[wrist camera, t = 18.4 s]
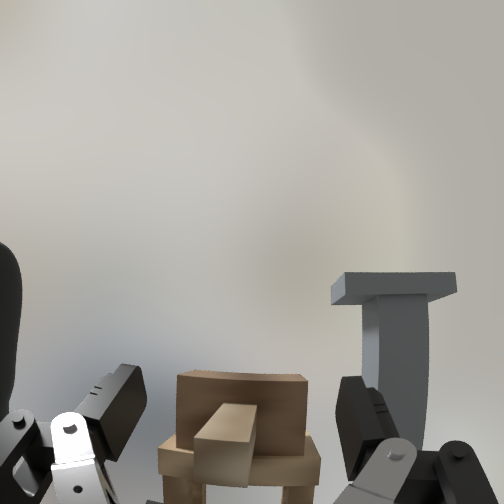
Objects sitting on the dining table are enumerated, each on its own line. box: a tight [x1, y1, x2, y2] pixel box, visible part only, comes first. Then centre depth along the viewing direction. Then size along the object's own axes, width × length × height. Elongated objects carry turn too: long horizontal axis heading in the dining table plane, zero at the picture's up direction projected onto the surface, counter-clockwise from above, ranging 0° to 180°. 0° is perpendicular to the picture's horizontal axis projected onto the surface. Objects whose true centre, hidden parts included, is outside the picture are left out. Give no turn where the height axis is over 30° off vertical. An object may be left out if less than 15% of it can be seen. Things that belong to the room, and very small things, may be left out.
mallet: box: [176, 370, 308, 488], centre depth 16 cm, size 8×13×5 cm, turn 177°
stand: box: [331, 272, 457, 504], centre depth 18 cm, size 10×5×32 cm, turn 87°
